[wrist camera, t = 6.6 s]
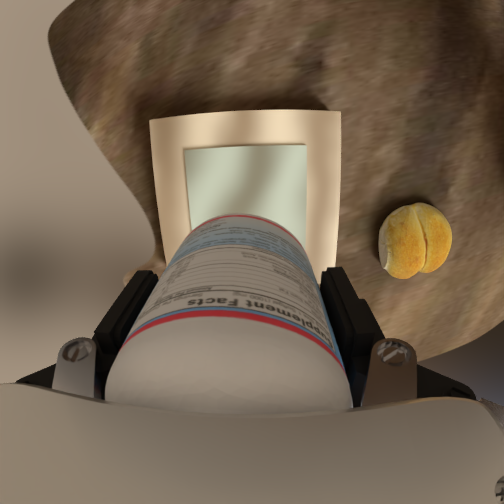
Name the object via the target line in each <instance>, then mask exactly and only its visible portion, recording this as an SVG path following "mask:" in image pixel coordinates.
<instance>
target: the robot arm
mask: <svg viewBox="0 0 504 504" xmlns="http://www.w3.org/2000/svg"><path fill="white" fill-rule="evenodd" d="M158 281H159V280H158V276H157V274H153V272H152V271H151V270H139V271H137V272H136V273H135V274H134V276H133V277H132V279H131V280H130V281H129V283H128V284H127V285H126V287H125V288H124V290H123V291H122V292H121V294H120V295H119V296H118V298H117V299H116V301H115V302H114V303H113V305H112V306H111V308H110V309H109V311H108V312H107V314H106V315H105V316H104V318H103V319H102V321H101V322H100V324H99V325H98V327H97V328H96V330H95V331H94V333H95V334H94V336H93V337H92V339H90V338H85V337H81V338H76V339H73V340H70V341H68V342H67V343H66V344H64V345H63V346H62V348H61V349H60V351H59V353H58V358H57V363H56V364H54V365H51V366H49V367H47V368H44V369H42V370H40V371H37V372H35V373H33V374H30V375H28V376H26V377H23V378H21V379H19V380H17V381H16V382H15V383H3V384H0V504H504V406H501V405H498V404H496V403H493V402H491V401H488V400H486V399H483V398H481V399H480V401H478V400H476V396H475V394H474V392H473V391H472V390H471V389H470V388H469V387H468V386H466V385H464V384H462V383H460V382H458V381H455V380H453V379H451V378H448V377H446V376H443V375H441V374H439V373H436V372H434V371H432V370H429V369H427V368H425V367H422V366H420V365H418V364H417V356H416V352H415V350H414V349H413V347H412V346H411V345H409V344H408V343H407V342H405V341H403V340H400V339H396V338H387V339H385V337H384V335H383V333H382V331H381V329H380V327H379V325H378V323H377V321H376V319H375V317H374V315H373V313H372V311H371V309H370V308H369V306H368V304H367V302H366V300H365V299H359V298H358V296H357V294H356V292H355V290H354V288H353V287H352V285H351V283H350V281H349V279H348V277H347V275H346V273H345V271H344V269H343V268H342V267H327V270H326V271H322V273H321V283H320V292H321V296H322V299H323V302H324V305H325V308H326V311H327V315H328V318H329V321H330V324H331V326H332V329H333V332H334V335H335V339H336V343H337V346H338V349H339V352H340V355H341V359H342V362H343V366H344V369H345V373H346V376H347V380H348V383H349V388H350V392H351V396H352V402H353V408H348V409H339V410H329V411H318V412H305V413H286V414H220V413H201V412H187V411H176V410H167V409H158V408H150V407H142V406H136V405H129V404H123V403H117V402H112V401H106V400H105V387H106V382H107V378H108V375H109V372H110V369H111V367H112V365H113V363H114V361H115V359H116V357H117V355H118V353H119V351H120V349H121V347H122V345H123V343H124V341H125V339H126V338H127V336H128V334H129V332H130V330H131V328H132V326H133V325H134V323H135V321H136V319H137V317H138V315H139V314H140V312H141V310H142V308H143V307H144V305H145V303H146V301H147V300H148V298H149V296H150V294H151V293H152V291H153V289H154V288H155V286H156V284H157V283H158Z"/></svg>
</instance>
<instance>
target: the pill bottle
mask: <svg viewBox="0 0 504 504" xmlns="http://www.w3.org/2000/svg"><path fill="white" fill-rule="evenodd" d="M105 400H106V401H112V402H117V403H123V404H129V405H136V406H142V407H150V408H158V409H167V410H176V411H187V412H201V413H220V414H286V413H305V412H318V411H329V410H339V409H348V408H353V402H352V396H351V392H350V388H349V383H348V380H347V376H346V373H345V369H344V366H343V362H342V359H341V355H340V352H339V349H338V346H337V343H336V339H335V335H334V332H333V329H332V326H331V324H330V321H329V318H328V315H327V311H326V308H325V305H324V302H323V299H322V296H321V292H320V289H319V286H318V283H317V280H316V278H315V275H314V272H313V269H312V266H311V263H310V261H309V258H308V256H307V254H306V252H305V250H304V248H303V246H302V244H301V243H300V242H299V241H298V239H297V238H296V237H295V236H294V235H293V234H292V233H291V232H290V231H288V230H287V229H286V228H284V227H283V226H281V225H280V224H278V223H276V222H274V221H272V220H270V219H267V218H264V217H261V216H257V215H253V214H246V213H230V214H224V215H220V216H216V217H214V218H211V219H208V220H207V221H205V222H203V223H201V224H200V225H199V226H197V227H196V228H195V229H193V230H192V231H191V232H190V233H189V234H188V236H187V237H186V238H185V239H184V241H183V242H182V244H181V245H180V247H179V248H178V250H177V251H176V253H175V254H174V256H173V258H172V259H171V261H170V263H169V264H168V266H167V268H166V269H165V271H164V273H163V274H162V276H161V278H160V279H159V281H158V283H157V284H156V286H155V288H154V289H153V291H152V293H151V294H150V296H149V298H148V300H147V301H146V303H145V305H144V307H143V308H142V310H141V312H140V314H139V315H138V317H137V319H136V321H135V323H134V325H133V326H132V328H131V330H130V332H129V334H128V336H127V338H126V339H125V341H124V343H123V345H122V347H121V349H120V351H119V353H118V355H117V357H116V359H115V361H114V363H113V365H112V367H111V369H110V372H109V375H108V378H107V382H106V387H105Z"/></svg>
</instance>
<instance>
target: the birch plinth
mask: <svg viewBox="0 0 504 504" xmlns="http://www.w3.org/2000/svg"><path fill="white" fill-rule="evenodd" d="M149 122H150V137H151V149H152V160H153V170H154V180H155V189H156V197H157V205H158V213H159V220H160V227H161V234H162V240H163V247H164V253H165V259H166V265H167V266H168V264H169V263H170V261H171V259H172V258H173V256H174V254H175V253H176V251H177V250H178V248H179V247H180V245H181V244H182V242H183V241H184V239H185V238H186V237H187V236H188V234H189V233H190V232H191V231H192V230H193V229H195V228H196V227H197V226H199V225H200V224H201V223H203V222H205V221H207V220H208V219H211V218H214V217H216V216H220V215H224V214H230V213H246V214H253V215H257V216H261V217H264V218H267V219H270V220H272V221H274V222H276V223H278V224H280V225H281V226H283V227H284V228H286V229H287V230H288V231H290V232H291V233H292V234H293V235H294V236H295V237H296V238H297V239H298V241H299V242H300V243H301V244H302V246H303V248H304V250H305V252H306V254H307V256H308V258H309V261H310V263H311V266H312V269H313V272H314V275H315V278H316V280H317V283H318V284H320V283H321V273H322V271H326V270H327V267H335V261H336V249H337V236H338V221H339V202H340V175H341V112H339V111H320V110H246V111H228V112H214V113H202V114H192V115H183V116H175V117H167V118H160V119H153V120H149Z"/></svg>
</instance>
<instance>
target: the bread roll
mask: <svg viewBox="0 0 504 504" xmlns="http://www.w3.org/2000/svg"><path fill="white" fill-rule="evenodd" d="M451 242H452V233H451V228H450V225H449V223H448V221H447V220H446V218H445V217H444V215H443V214H442V213H441V212H440V211H439V210H437V209H436V208H435V207H433V206H431V205H428V204H425V203H414V204H412V205H406V206H402V207H400V208H398V209H396V210H395V211H393V212H392V213H391V214H390V215H389V216H387V218H386V219H385V220H384V222H383V224H382V226H381V228H380V230H379V242H378V245H379V257H380V262H381V265H382V267H383V268H384V269H386V270H387V272H388V273H389V274H390V275H392V276H393V277H395V278H399V279H406V278H409V277H411V276H413V275H414V274H416V273H417V272H418V271H420V272H424V273H429V272H432V271H434V270H436V269H437V268H438V267H440V266H441V265H442V264H443V263H444V261H445V259H446V258H447V256H448V253H449V250H450V247H451Z"/></svg>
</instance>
